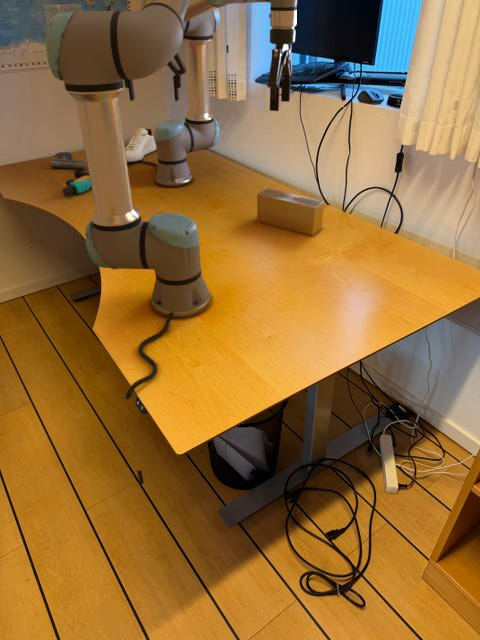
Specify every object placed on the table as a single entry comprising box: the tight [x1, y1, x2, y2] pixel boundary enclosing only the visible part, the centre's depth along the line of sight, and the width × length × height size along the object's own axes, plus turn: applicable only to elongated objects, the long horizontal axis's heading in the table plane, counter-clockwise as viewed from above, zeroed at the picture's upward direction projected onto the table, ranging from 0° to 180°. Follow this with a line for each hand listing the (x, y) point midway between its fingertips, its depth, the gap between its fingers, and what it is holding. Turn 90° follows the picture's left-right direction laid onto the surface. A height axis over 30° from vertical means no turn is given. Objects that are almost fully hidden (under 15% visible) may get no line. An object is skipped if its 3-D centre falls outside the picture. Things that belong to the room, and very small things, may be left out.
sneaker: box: [125, 127, 157, 163], centre depth 223 cm, size 10×29×12 cm, turn 163°
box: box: [256, 187, 325, 237], centre depth 161 cm, size 22×7×10 cm, turn 56°
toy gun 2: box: [62, 169, 92, 197], centre depth 193 cm, size 4×26×15 cm
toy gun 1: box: [48, 151, 88, 170], centre depth 217 cm, size 4×19×15 cm
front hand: (154, 100), depth 143 cm, fingers open, 13 cm apart
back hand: (279, 105), depth 151 cm, fingers open, 13 cm apart
